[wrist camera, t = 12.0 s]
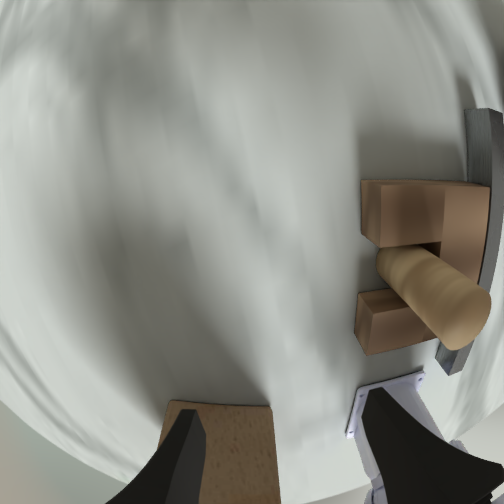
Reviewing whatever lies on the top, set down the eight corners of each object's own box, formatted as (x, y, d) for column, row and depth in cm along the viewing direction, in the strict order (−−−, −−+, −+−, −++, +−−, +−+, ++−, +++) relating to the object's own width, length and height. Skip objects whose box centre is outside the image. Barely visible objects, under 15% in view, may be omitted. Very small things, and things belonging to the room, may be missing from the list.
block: (447, 312, 21) (464, 328, 18) (354, 332, 21) (366, 355, 18) (465, 181, 17) (489, 187, 14) (361, 179, 17) (380, 185, 14)
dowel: (412, 278, 20) (479, 341, 11) (374, 283, 20) (435, 357, 11) (417, 234, 18) (497, 284, 10) (377, 237, 18) (454, 296, 10)
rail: (448, 353, 23) (461, 370, 20) (435, 358, 23) (448, 375, 20) (478, 113, 15) (502, 113, 12) (464, 109, 15) (488, 108, 12)
